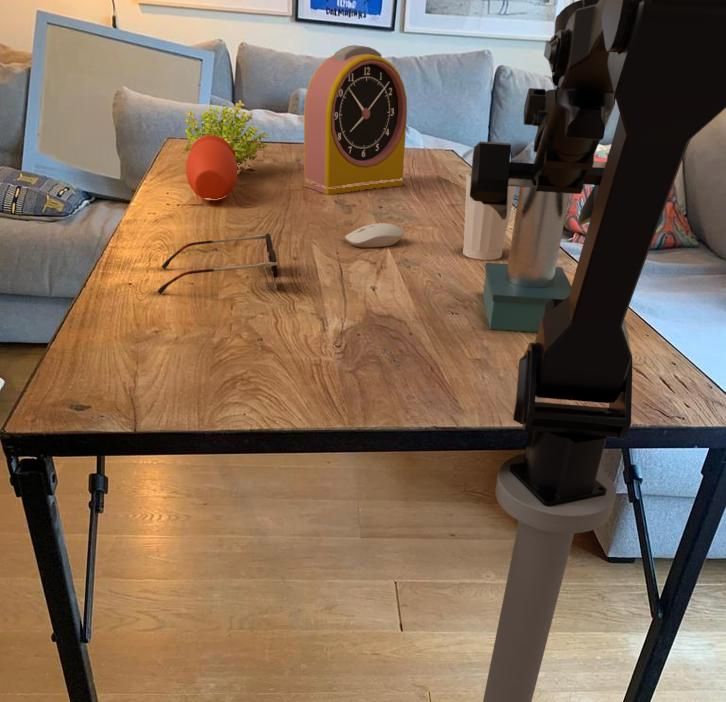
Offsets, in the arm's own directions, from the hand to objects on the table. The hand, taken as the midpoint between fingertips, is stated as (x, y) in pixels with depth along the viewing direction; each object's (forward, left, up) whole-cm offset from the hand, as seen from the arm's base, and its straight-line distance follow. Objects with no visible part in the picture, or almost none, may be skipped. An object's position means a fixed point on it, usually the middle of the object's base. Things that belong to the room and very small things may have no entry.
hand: (541, 218), depth 88 cm
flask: (+1, -1, -8) cm, 8 cm away
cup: (+27, -9, -13) cm, 31 cm away
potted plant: (+88, +21, -13) cm, 91 cm away
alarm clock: (+81, -6, -13) cm, 82 cm away
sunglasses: (+24, +35, -13) cm, 45 cm away
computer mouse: (+37, +6, -13) cm, 40 cm away
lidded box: (+1, -1, -13) cm, 13 cm away
